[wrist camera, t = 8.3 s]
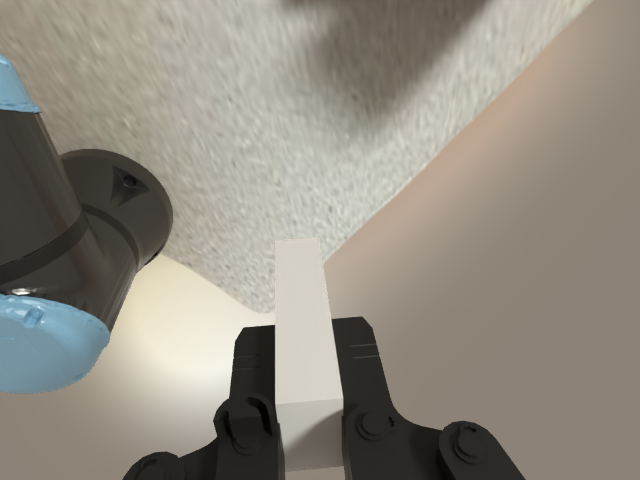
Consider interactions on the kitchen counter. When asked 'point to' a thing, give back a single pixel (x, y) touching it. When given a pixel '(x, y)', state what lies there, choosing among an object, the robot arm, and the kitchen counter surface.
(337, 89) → the kitchen counter surface
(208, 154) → the kitchen counter surface
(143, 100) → the kitchen counter surface
